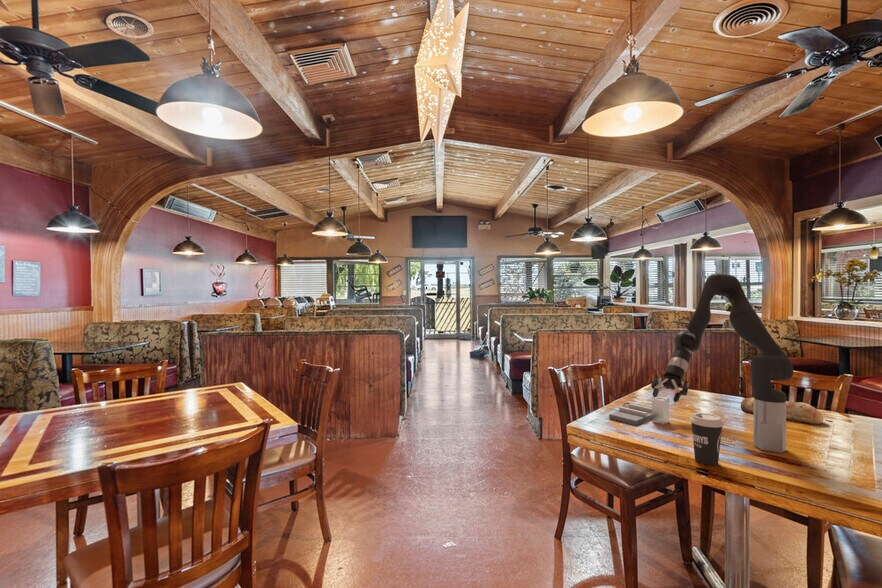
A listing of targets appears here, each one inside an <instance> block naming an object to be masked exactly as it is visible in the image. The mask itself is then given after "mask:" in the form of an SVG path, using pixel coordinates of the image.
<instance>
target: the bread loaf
mask: <svg viewBox="0 0 882 588" xmlns="http://www.w3.org/2000/svg"><path fill="white" fill-rule="evenodd" d="M740 409H741V410H742V411H743V412H745V413H748V414H754V396H753V397H746V398H744V399H742V400H741V402H740ZM786 419H789V420H788V421H792V420H794V421H793V422H797V421H799V422H798V423H802V422H804V423H803V424H808V423H810V424H809V425H822V424H823V423H824V420H825V422H828V423H834V420H828V419H824V414H823V413H821V411H819V410H818V409H817V408H816V407H814V406H812V405H811V404H809V403H806V402H802V401H801V402H800V401H798V402H797V401H788V400H786Z"/></svg>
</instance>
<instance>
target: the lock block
mask: <svg viewBox="0 0 882 588" xmlns="http://www.w3.org/2000/svg"><path fill="white" fill-rule="evenodd" d="M651 407H652V419H651V422H653V423H657V424H660V423H661V424H660V425H666V424H668V423H670V398H667V397H662V396H658V395H657V397H652V398H651ZM665 423H666V424H665Z"/></svg>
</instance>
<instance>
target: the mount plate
mask: <svg viewBox="0 0 882 588" xmlns="http://www.w3.org/2000/svg"><path fill="white" fill-rule="evenodd" d="M618 409H619V410H617V411H615V412H612V413H609V414H608V417H609V418H610V419H609V420H612V419H614V420H613V421H616V420H618V421H617V422H620V421H622V422H621V423H624V422H626V423H625V424H628V423H629V425H632V424H633V426H635V425H636V426H638V424H639V425H641V424H643V423H646V422H649V421H650V420H651V421H652V405H651V406H650V405H645V404H640V403H638V404H634V403H628V407H624V406H619V407H618ZM648 420H649V421H648Z"/></svg>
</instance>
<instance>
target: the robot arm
mask: <svg viewBox="0 0 882 588" xmlns="http://www.w3.org/2000/svg"><path fill="white" fill-rule="evenodd" d="M704 282H705V283H704V285H703V288H702V291H701V293H700V296H699V299H698V301H697V302H698V303H697V306H696V308H695V309H694V312H693V314H692V316H691V317H690V319H689V321H688V323H687V325H686V330H687V331H688V332H686V331H679V332H678V333H677V334H676V335H675V337H674V351H673V353H672V356H671V359H670V360H669V361H668V364H667V366H666V368H665V371H664V374H663V377H660V376H658V375H656V376H655V377H654V378H653V381H652V383H651V384H650V386H651V389H652V390H653V392H652V396H653V397H652V398H654V397H657V396H658V395H659V392H660V391H662V390H665V389H667V390H669V389H670V390H675V391H676V392H675V394H674V397H673V403H678V402H680V398H681V397H682V396H687V395H688V391H689V387H690V384H689V381H687V380H685V381H684V378H685V375H686V373H687V370H688V366H689V363H690V361H691V358H692V354H691V352H696V351H698V350H699V349H700V347H701V344H702V343H701V342H702V337H703V334H704V332H705V330H706V328H708V325H709V324H710V322H711V319H712V314H711V313H712V312H711V311H712V310H711V302H712V301H713V300H712V299H713V298H714V297H715V296H719V297H720V296H721V297H726V299H727V300H728V301H729V303H730V304H731V305H730V306H731V308H730V311H729V318H728V319H729V322H730V323H731V326H732V327H733V329H734V331H735V332H736V334H737V335H738V336H739V337H740V338H741V339H742V340H744V341H746V343H749V344H750V345H751V346H753V347H755V348H756V349H757V350H759V352H761V354H755V355H754V356H753V357H752V358H751V362H750V379H751V390H752V392H753V397H754V413H753V420H752V421H753V425H752V426H753V428H752V429H753V436H752V437H753V446H754V447H756V448H758V449H759V450H761V451H767V452H772V453H780V454H784V452H786V451H787V420H786V401H787V394H786V393H785V392H784V391H781V390H778V389H775V388H774V387H773V386H772V381H773V382H775V381H776V382H777V381H778V382H779V381H782V382H783V381H789V380H790V379H792V378H793V376H794V367H793V364H792V362H791V360H790V358H789V357H788V356H787V354H786V353H785V352H784V351H783V350H782V348H781V347H780V346H779V344H778V343H777V342H776V341H775V339H773V337H772V336H771V334H770V333H769V331H768V330H767V328H766V326H765V325H764V323H763V321H762V319H761V318H760V316H759V315H758V314H757V312H756V311H755V309H754V307H753V306H752V304H751V303H750V301H749V299H748V297H747V295H746V293H745V292H744V289H743V286H742V285H741V283H740V281H739V279H738V277H736V276H734V275H732V274H726V273H725V274H724V273H716V272H714V273H711V274H710V275H709V276H708V277H707V278H706V280H705V281H704ZM690 333H691V334H690ZM692 334H693V335H692ZM681 386H682V389H681V390H680V388H679V387H681Z"/></svg>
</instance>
